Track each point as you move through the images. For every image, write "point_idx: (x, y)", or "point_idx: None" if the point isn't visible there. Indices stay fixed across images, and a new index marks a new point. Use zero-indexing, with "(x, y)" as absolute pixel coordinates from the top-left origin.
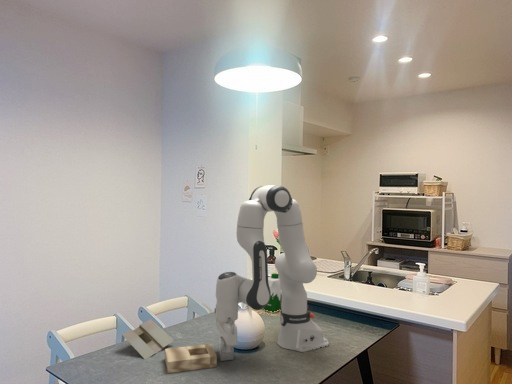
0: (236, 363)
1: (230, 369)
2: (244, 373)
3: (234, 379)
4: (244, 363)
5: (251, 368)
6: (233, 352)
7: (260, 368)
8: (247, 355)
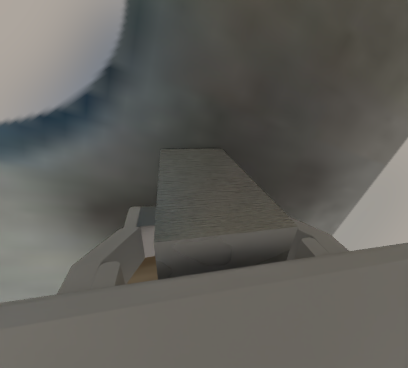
0: (265, 143)
1: (302, 183)
2: (366, 133)
3: (371, 184)
4: (286, 97)
5: (354, 77)
6: (234, 163)
7: (391, 15)
8: (188, 21)
